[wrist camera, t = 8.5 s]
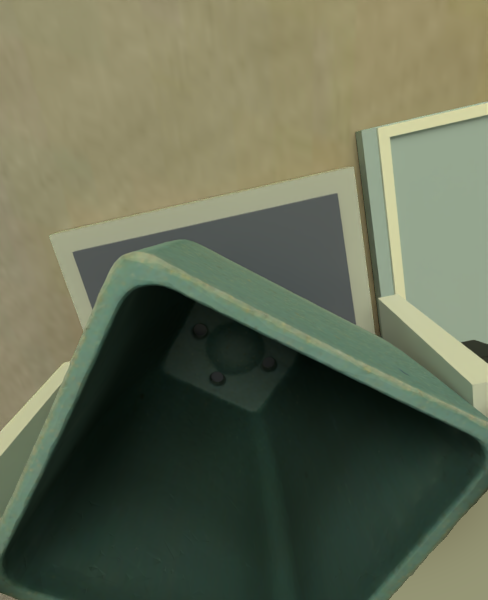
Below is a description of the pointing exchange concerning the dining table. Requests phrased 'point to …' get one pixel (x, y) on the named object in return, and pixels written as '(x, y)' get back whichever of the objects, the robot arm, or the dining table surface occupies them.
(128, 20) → the dining table surface
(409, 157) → the board
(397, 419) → the flower pot
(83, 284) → the ink pad
